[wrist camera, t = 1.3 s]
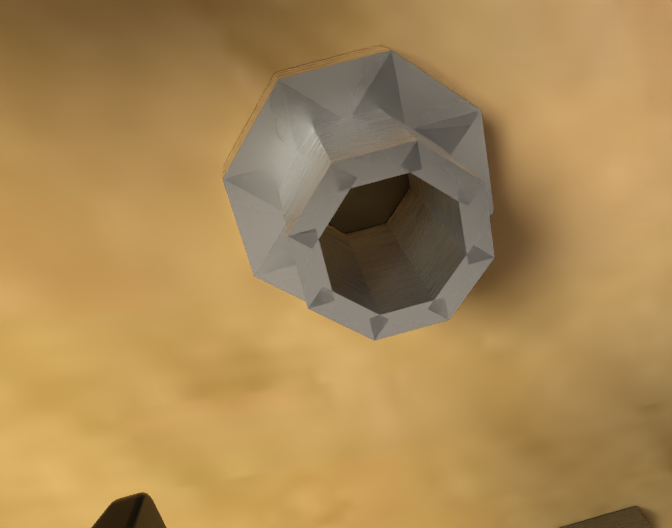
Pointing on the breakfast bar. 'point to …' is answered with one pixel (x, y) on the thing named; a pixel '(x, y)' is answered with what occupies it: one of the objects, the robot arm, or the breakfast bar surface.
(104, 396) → the breakfast bar surface
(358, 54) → the octagonal pipe fitting
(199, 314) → the breakfast bar surface
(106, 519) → the robot arm
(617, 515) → the carrier
